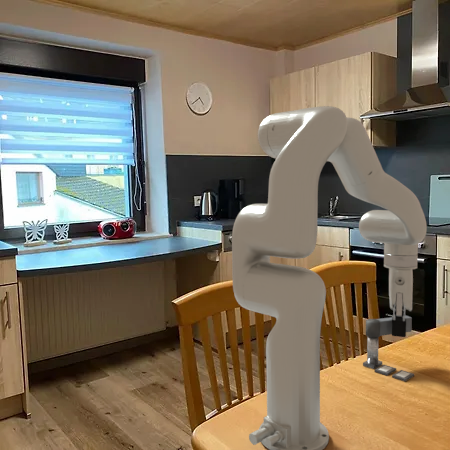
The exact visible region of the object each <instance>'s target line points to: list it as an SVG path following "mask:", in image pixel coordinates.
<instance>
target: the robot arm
mask: <svg viewBox="0 0 450 450" xmlns="http://www.w3.org/2000/svg"><path fill="white" fill-rule="evenodd" d="M257 141H258V144H259V147H260V148H261V150H262V151H263V152H264V153H265V154H266V156H268V157H271V158H273V159H275V161H274V162H273V164H272V165H271V168H270V172H269V178H268V195H267V197H268V198H267V203H252V204H248V205H247V206H245V207H243V208H242V209H241V210H240V211H239V212H238V214H237V216H236V217H235V220H234V223H233V227H232V235H231V254H232V255H231V259H232V260H231V262H232V264H231V266H232V268H231V269H232V270H231V271H232V273H231V274H232V275H231V276H232V291H233V293H234V295H233V296H234V298H235V300H236V302H237V303H238V305H240V307H242V308H243V309H245V310H249V311H251V312H255V313H259V314H261V315H266V316H269V317H270V316H271V317H273V318H275V319H276V321H275V323H274V325H273V327H272V328H271V330H270V332H269V334H268V336H267V339H266V343H265V357H266V358H265V359H266V361H265V362H266V363H265V364H266V416H264V417H263V422H262V423H261V424H260V426H259V428H258V429H256V430H254V431H252V432H251V433H250V434H249V435H248V440H249V442H250V444H252V445H255V446H256V445H257V444H259V443H261V444H262V445H263V446H264V447H266V448H267V449H268V450H324V449H325V448H326V447H327V445H328V443H329V440H330V438H329V437H330V436H329V434H330V433H329V431H328V428H327V427H326V426H325V425H324V424H323V423H322V422H321V369H320V368H321V355H320V354H321V349H320V348H321V346H320V341H321V327H322V317H323V312H324V308H325V303H326V302H325V301H326V297H327V296H326V295H327V289H326V285H325V282H324V280H323V279H322V277H321V276H320V275H319V274H318V273H317V272H315V271H313V270H312V269H309V268H306V267H302V266H297V265H290V264H284V263H275V262H271V257H274V258H282V259H291V260H292V259H295V260H296V259H298V260H299V259H304V258H308V257H309V256H311V255H312V253H314V251H315V249H316V245H317V239H318V238H317V237H318V208H319V207H318V206H319V205H318V203H319V201H318V195H319V194H318V193H319V192H318V191H319V181H320V176H321V172H322V171H323V168H324V166H325V164H326V163H327V162H330V163H331V164H332V165H333V167H334V169H335V172H336V173H337V175H338V177H339V179H340V181H341V184H342V185H343V187H344V189H345V191H346V192H347V193H348V195H350V196H352V197H354V198H356V199H359V200H360V201H363V202H366V203H369V204H372V205H374V206H377V207H381V208H383V209H372V210H369V211H367V212H365V213H364V214H363V215H362V216H361V218H360V219H359V222H358V231H359V233H360V235H361V236H362V238H363V239H364V240H366V241H368V242H371V243H377V244H379V243H380V244H384V245H383V246H384V247H383V267H384V268H386V269H388V296H389V297H388V298H389V308H390V310H391V311H393V312H392V313H393V314H392V317H393V318H392V334H391V336H392V337H399V338H400V337H401V338H406V337H407V332H406V319H405V316H406V310H407V311H408V312H412V311H413V288H414V287H413V286H414V285H413V283H414V278H413V277H414V275H413V270H416V269H418V257H419V256H418V255H419V253H418V250H419V249H418V247H419V244H420V243H422V241H423V240H424V239H425V237H426V235H427V229H428V228H427V227H428V226H427V221H426V216H425V213H424V210H423V208H422V206H421V202H420V200H419V199H418V197H417V196H416V194H415V193H414V192H413V191H412V190H411V189H410V188H408V187H407V186H406V185H404V184H403V183H401V181H399V180H398V179H396V178H394V177H393V176H391V175H390V174H388V173H386V172H385V171H384V169H383V167H382V166H383V165H382V164H381V161H380V160H379V158H378V154H377V153H376V150H375V149H374V146H373V143H372V141H371V139H370V137H369V134H368V132H367V130H366V127H365V126H364V125H363V123H362V122H361V121H360V120H359V119H356V118H355V117H354V118H353V117H347V116H346V113H345V112H344V111H343V110H342V109H340V108H339V107H335V106H326V105H325V106H324V105H323V106H314V107H307V108H300V109H295V110H289V111H282V112H275V113H272V114H270V115H268V116H266V117H265V118H264V119H263V120H262V121H261V122H260V124H259V127H258V130H257Z"/></svg>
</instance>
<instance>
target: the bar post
mask: <svg viewBox="0 0 450 450" xmlns="http://www.w3.org/2000/svg"><path fill="white" fill-rule="evenodd" d="M366 337H367V340H366V341H367V345H366V346H367V349H366V352H367V353H366V354H367V355H366V357H367V358H366V360H365V361H363V362H362V366H363V367H366V368H368V369H372V370H375V369H377V368H379V367H381V366H382V365H383V361H381V360H379V337H376V338H373V337H368V336H366Z"/></svg>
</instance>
